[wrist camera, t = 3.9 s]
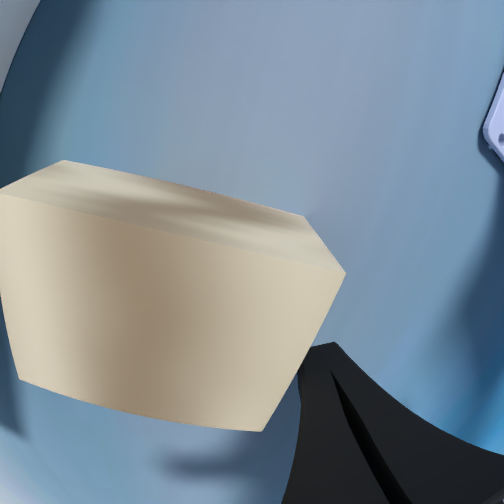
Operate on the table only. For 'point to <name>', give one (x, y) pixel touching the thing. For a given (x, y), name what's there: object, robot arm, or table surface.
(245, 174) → the table surface
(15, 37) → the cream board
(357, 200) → the table surface
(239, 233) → the maple block
